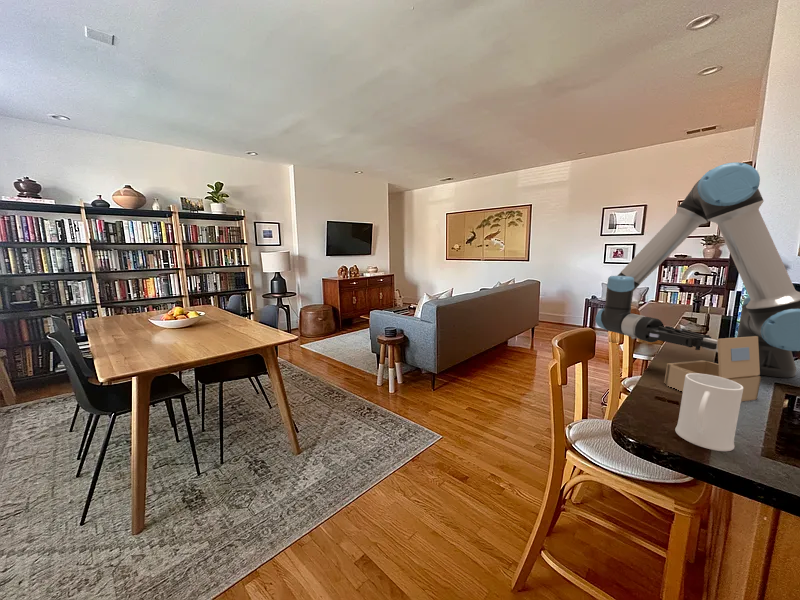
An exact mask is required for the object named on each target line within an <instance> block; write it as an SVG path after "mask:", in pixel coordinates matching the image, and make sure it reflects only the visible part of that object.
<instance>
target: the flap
mask: <svg viewBox="0 0 800 600" xmlns="http://www.w3.org/2000/svg"><path fill="white" fill-rule="evenodd" d="M716 340H717V343H718V352H717V361H718V363H717V364H719V377H722V378H735V377H744V376H753V375H758V376H760V366H759V346H758V336H752V337H738V338H737V337H725V338H717V339H716Z"/></svg>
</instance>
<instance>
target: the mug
mask: <svg viewBox="0 0 800 600" xmlns="http://www.w3.org/2000/svg"><path fill="white" fill-rule="evenodd" d="M742 394H743V386H742V385H740V384H739V383H737V382H734V381H732V380H729V379H726V378H722V377H718V376H713V375H708V374H700V373H690V374H686V376H685V382H684V388H683V392H682V396H681V401H680V407H679V415H678V420H677V423H676V424H677V425H676V427H675V429H674V430H675V433H676V434H677V436H679V437H680V438H682V439H684V440H685V441H687V442H689V443H690V444H693V445H695V446H697V447H701V448H704V449H709V450H711V451H716V452H717V451H718V452H730V451H733V450H734V449H735V438H736V437H735V435H736V431H737V430H736V429H737V426H738V420H739V414H740V410H741V409H740V408H741V404H742V401H741V399H742Z"/></svg>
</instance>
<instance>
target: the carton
mask: <svg viewBox="0 0 800 600" xmlns="http://www.w3.org/2000/svg"><path fill="white" fill-rule="evenodd" d="M690 373H700V374H708V375H713V376H718V377H719V364H718V363H716V362H712V361H708V360H702V359H701V360H690V361H681V362H680V361H679V362H671V363H670V362H669V363H666V368H665V376H664V381H663V384H664V383H665V384H666V385H665V384H664V385H665V386H666V387H668V386H669V387H668V388H670V387H672V388H671V389H673V388H675V389H677V390H676V391H678V390H679V392H680V391H682V392H681V393H683V388H684V382H685V376H686V374H690ZM726 379H729V380H732V381H734V382H737V383H739V384H740V385H742V386H743V394H742V399H741V402H749V401H755V400H758V395H759V392H760V391H759V390H760V386H761V381H762V375H761V376H760V375H753V376H744V377H735V378H726ZM675 389H674V390H675Z"/></svg>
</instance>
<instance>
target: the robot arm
mask: <svg viewBox="0 0 800 600" xmlns="http://www.w3.org/2000/svg"><path fill="white" fill-rule="evenodd" d="M760 177H761V176H760V174H759V172H758V170H757V169H756V168H755V167H753V166H752V165H750V164H748V163H744V162H737V161H734V162H727V163H723V164H721V165H718V166H715V167H714V168H712V169H709V170H708V171H706V172H705V174H703V175H702V177H700V179H699V180H698V181H696V183H694V185H693V187H692V188H691V190H690V191H689V192H688V194H687V196H686V197H685V198H684V199H683V201H682V202H681V203H680V204H679V205H678V206H677V207H676V213H675V214H674V215H673V216H672V217H671V218H670V219H669V221H667V223H665V225H663V226H662V228H661V229H660V230H659V231H658V232H657V233H656V234H655V235H654V236H653V237H652V238H651V239H650V241H648V243H647V244H646V245H644V247H643V248H642V249H641V250H640V251H639V252H638V253H637V254H636V255H635V256H634V257H633V258H632V260H631V261H629V262H628V263H627V265H626V266H625V267H624V268H623V269H621V271H620V272H619V274H617V275H611V276H609V277H608V278H607V282H606V293H605V294H606V295H605V303H604V304H605V305H604V308H601V309H599V310H598V311H597V314H596V315H595V323H596V325H597V326H598V327H599V328H601V329H603V330H606V331H608V332H612V333H616V334H620V335H624V336H627V337H630V338H631V340H635V339H638V340H641V341H644V342H648V343H655V342H658V341H661V342H665V343H668V344H669V343H670V344H674V345H679V346H684V347H688V348H694V347H695V348H694V349H695V351H700V350H701V349H704V350H707V351H712V352H715V353H718V343H717V339H715V338H714V339H713V338H712V336H710V334H703V333H698V332H694V331H691V330H687V329H685V328H674V327H673V326H669V325H664V323H663V322H662V320H661V319H658V318H655V317H650V316H645V315H641V314H635V313H631V311H632V304H633V303H632V302H633V296H634V291H635V290H637V288H638V287H639V286H640V285H641V284H642V283H643V282H645V280H646V279H647V278H648V277H649V276H650V275H651V274H652V273H653V272H654V271H655V270H656V269H657V268H658V267H659V266H660V265H661V264H662V263H663V262H664V261H665V260H666V259H667V258H668V257H669V256H671V254H672V253H673V252H674V251H675V250H676V249H677V248H678V247H679V246H680V245H682V243H683V242H685V240H686V239H687V238H689V236H690V235H692V233H694V232H695V230H696V229H697V228H698V227H699V226H700V225H704V224H707V223H708V222H711V223H715V224H716V225H717V227H718V229H719V231H720V233H721V235H722V238H723V240H724V242H725V246H726V247H727V249H728V251H729V253H730V257H731V259H732V260H733V263H734V265H735V267H736V269H737V272H738V274H739V276H740V279H741V281H742V282H743V285H744V288H745V289H746V291H747V294H748V296H747V297H745V298H744V300H743V302H742V305H741V314H740V318H739V323H738V324H739V325H738V329H737V333H736V334H737V336H736V338H738V337H752V336H758V346H759V366H760V375H761V376H766V377H773V378H774V377H775V378H788V379H790V378H794V377H796V372H797V366H796V363H795V359H794V356H793V352H800V291H798V290H796V289H795V286H794V284H793V282H792V279H791V278H790V277H791V276H790V275H789V273H788V271H787V269H786V266H785V264H784V262H783V260H782V258H781V256H780V253H779V251H778V249H777V247H776V244H775V242H774V240H773V237H772V236H771V234H770V232H769V230H768V227H767V224H766V222H765V221H764V217H762V214H761V211H760V210H759V209H760V208H761V206H762V205H763V203H764V201H765V200H764V199H763V197H762V196H763V195H762V193H761V191H760V189H759V187H760V184H761V183H760V182H761V178H760ZM760 375H759V376H760Z"/></svg>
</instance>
